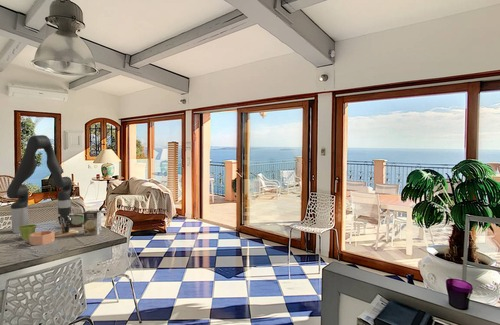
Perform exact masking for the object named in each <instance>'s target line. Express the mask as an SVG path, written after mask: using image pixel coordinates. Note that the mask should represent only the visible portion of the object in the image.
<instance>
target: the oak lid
mask: <svg viewBox="0 0 500 325" xmlns="http://www.w3.org/2000/svg"><path fill="white" fill-rule="evenodd" d="M78 231H79V229H78V230H77V229H69V232H65V224H62V226H61V230H59V231H56V232H54V233H55V238H63V237H68V238H70V237H69V236H72V237H74V236H73V235H76V234H78ZM76 236H77V235H76Z"/></svg>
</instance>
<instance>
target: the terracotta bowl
mask: <svg viewBox="0 0 500 325" xmlns="http://www.w3.org/2000/svg"><path fill="white" fill-rule="evenodd" d="M55 233H56V232H55V231H53V230H41V231H40V230H39V231H35V233H32V234H30V235H29V242H28V244H29V245H32V246H43V245H47V244H50V243H51V244H52V243H53V242H54V241H55V240H56V239H55Z"/></svg>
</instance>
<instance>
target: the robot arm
mask: <svg viewBox="0 0 500 325" xmlns="http://www.w3.org/2000/svg"><path fill="white" fill-rule="evenodd" d="M38 150H43V151H44V152H45V154H46V166H47V169H48V170H49V172H50V174H51V175H52V176H51V177H52V182H53V185H55V187H56V188H58V189H61V190H60V191H58V192H57V214H58V215H59V216H57V219H58V223H59V226H61V227H62V224H65V232H69V230H70V226H71V222H72V218H70V216H69V214H72V202H71V191H72V187H73V181H72V178H71V177H70V176H62V175H63V173H64V169H63V167H62V166H61V163H60V162H59V160H58V159H57V155H56V153H55V151H54V148H53V144H52V142H51V140H50V138H49V137H48V136H47V135H44V134H43V135H42V134H40V135H39V134H36V135H32V136H31V135H30V137H29V138H28V139H27V143H26V147H25V150H24V152H23V155H22V158H21V161H20V163H19V165H18V167H17V170H16V173H15V175H14V177H13V179H12V180H11V182H10V184H9V185H8V187H7V189H6V196H7V198H8V199H10V200H14V199H17V200H16V201H15V202H12V204H11V205H10V214H11V233H13V234H21V231H20V229H19V227H21V226H24V225H29V214H28V213H29V211H28V210H29V209H28V204H29V189H28V186H27V185H25V184H23V183H24V182H26V181H27V180H28V179H29V178H31V177H32V175H33V174H34V173H35V170H36V169H37V161H36V153H37V151H38Z"/></svg>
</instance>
